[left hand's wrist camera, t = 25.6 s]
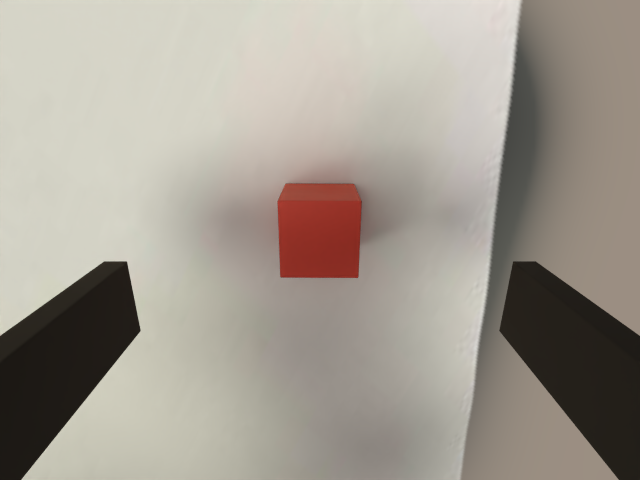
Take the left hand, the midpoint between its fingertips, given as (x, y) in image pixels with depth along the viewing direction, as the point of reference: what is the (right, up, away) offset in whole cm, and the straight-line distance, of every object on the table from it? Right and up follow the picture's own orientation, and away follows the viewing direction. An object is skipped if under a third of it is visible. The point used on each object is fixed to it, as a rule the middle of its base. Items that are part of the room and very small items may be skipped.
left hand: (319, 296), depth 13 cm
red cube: (0, +3, +10) cm, 10 cm away
